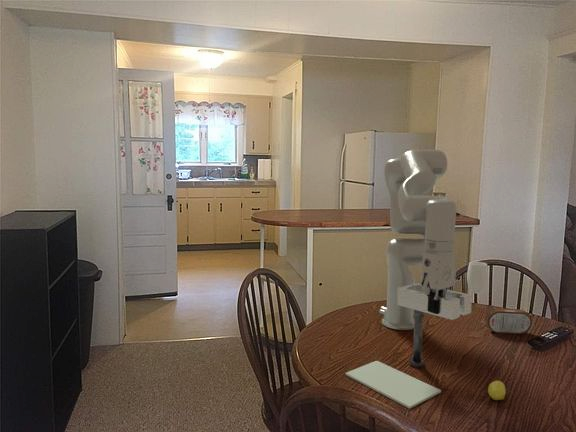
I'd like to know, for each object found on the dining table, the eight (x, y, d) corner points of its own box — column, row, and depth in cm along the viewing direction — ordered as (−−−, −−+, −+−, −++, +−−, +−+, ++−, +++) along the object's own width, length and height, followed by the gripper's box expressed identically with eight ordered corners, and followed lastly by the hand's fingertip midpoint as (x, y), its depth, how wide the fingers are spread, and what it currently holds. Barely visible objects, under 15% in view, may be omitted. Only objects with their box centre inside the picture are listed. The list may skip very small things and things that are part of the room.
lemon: (507, 392, 123) (508, 378, 122) (503, 406, 116) (504, 392, 115) (490, 388, 125) (491, 374, 124) (485, 402, 118) (485, 387, 118)
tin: (528, 332, 164) (530, 308, 163) (532, 335, 161) (534, 312, 160) (484, 330, 166) (485, 307, 164) (486, 333, 163) (488, 310, 161)
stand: (405, 363, 139) (408, 306, 136) (415, 359, 141) (417, 303, 139) (418, 369, 135) (421, 310, 133) (427, 364, 138) (430, 307, 136)
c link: (397, 304, 137) (397, 288, 136) (416, 298, 142) (416, 282, 142) (452, 319, 123) (452, 301, 122) (471, 312, 128) (471, 294, 128)
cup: (484, 314, 182) (487, 262, 179) (485, 320, 175) (489, 266, 172) (464, 312, 184) (467, 260, 181) (464, 318, 177) (468, 264, 174)
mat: (345, 374, 132) (345, 372, 131) (376, 362, 139) (376, 360, 139) (409, 408, 114) (409, 406, 114) (440, 392, 122) (441, 390, 122)
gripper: (433, 252, 117) (429, 322, 120) (468, 244, 127) (463, 309, 129) (409, 246, 123) (406, 314, 126) (443, 240, 132) (440, 302, 135)
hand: (435, 311), depth 127 cm, fingers closed on c link, 1 cm apart
